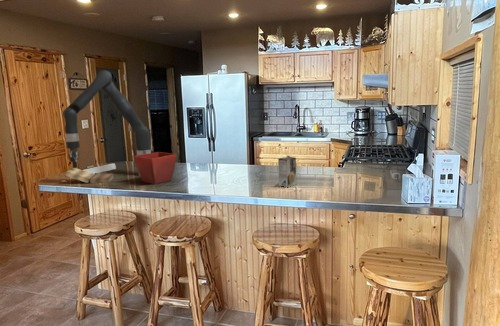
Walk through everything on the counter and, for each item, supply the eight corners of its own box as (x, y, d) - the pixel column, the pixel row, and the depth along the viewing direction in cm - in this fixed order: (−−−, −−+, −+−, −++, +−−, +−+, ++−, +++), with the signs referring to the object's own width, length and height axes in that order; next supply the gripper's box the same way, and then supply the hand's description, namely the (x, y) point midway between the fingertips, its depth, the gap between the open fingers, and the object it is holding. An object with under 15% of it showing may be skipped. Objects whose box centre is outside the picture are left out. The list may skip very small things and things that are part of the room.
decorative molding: (69, 180, 252) (78, 178, 247) (67, 174, 251) (76, 171, 247) (107, 171, 282) (116, 169, 278) (105, 165, 282) (114, 163, 278)
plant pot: (152, 186, 216) (150, 158, 213) (134, 182, 228) (132, 155, 225) (178, 180, 230) (177, 154, 227) (160, 177, 242) (158, 151, 239)
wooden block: (113, 177, 243) (113, 173, 242) (108, 182, 229) (108, 177, 229) (96, 178, 241) (95, 174, 241) (90, 183, 228) (89, 178, 227)
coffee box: (287, 183, 214) (286, 156, 211) (296, 184, 210) (296, 157, 207) (278, 186, 207) (277, 158, 205) (287, 187, 203) (287, 159, 201)
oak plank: (93, 178, 241) (95, 174, 241) (87, 183, 227) (89, 178, 227) (72, 171, 238) (73, 167, 238) (64, 175, 225) (66, 171, 224)
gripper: (75, 141, 223) (78, 169, 226) (81, 139, 236) (84, 165, 239) (62, 141, 222) (65, 169, 225) (69, 139, 235) (72, 166, 237)
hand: (75, 167), depth 232 cm, fingers closed
